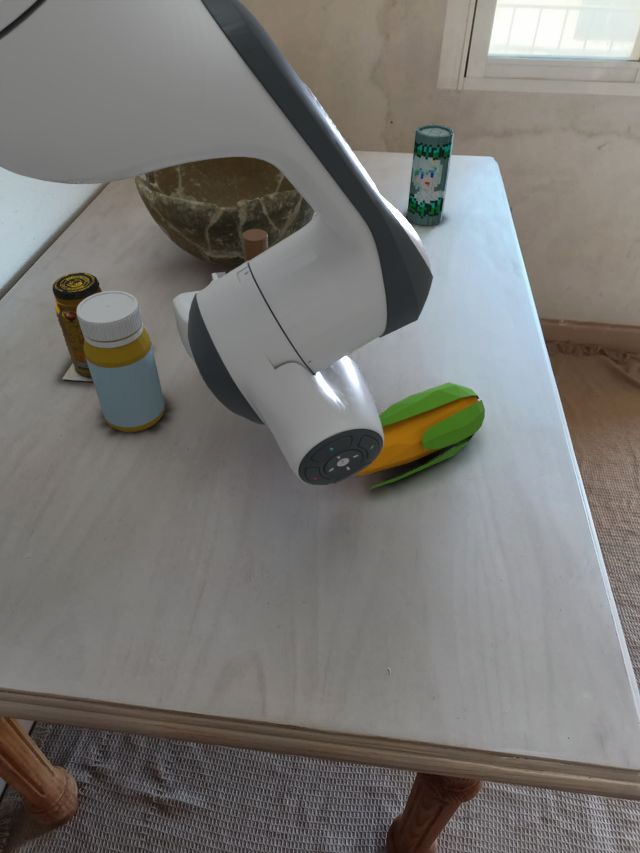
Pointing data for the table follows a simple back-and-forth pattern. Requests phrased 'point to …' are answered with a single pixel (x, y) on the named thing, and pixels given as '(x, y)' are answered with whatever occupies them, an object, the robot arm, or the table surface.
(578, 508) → the table surface
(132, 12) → the robot arm
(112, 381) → the bottle
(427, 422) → the corn
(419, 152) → the can
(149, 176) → the bowl
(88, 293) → the condiment
